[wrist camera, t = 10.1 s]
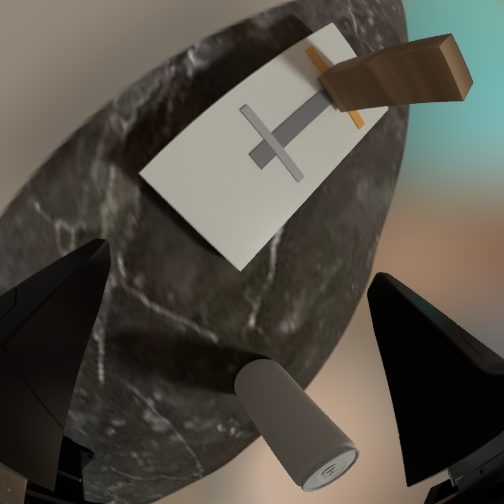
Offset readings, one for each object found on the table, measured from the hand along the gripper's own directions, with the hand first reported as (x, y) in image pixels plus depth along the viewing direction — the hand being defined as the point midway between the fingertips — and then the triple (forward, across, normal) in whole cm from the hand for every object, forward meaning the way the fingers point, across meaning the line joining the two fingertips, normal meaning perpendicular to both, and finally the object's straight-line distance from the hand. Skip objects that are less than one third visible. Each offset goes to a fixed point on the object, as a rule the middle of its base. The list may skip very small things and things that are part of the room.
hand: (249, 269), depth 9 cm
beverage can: (+7, -4, +17) cm, 19 cm away
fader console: (+14, -2, -2) cm, 14 cm away
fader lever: (+13, -6, -7) cm, 16 cm away
